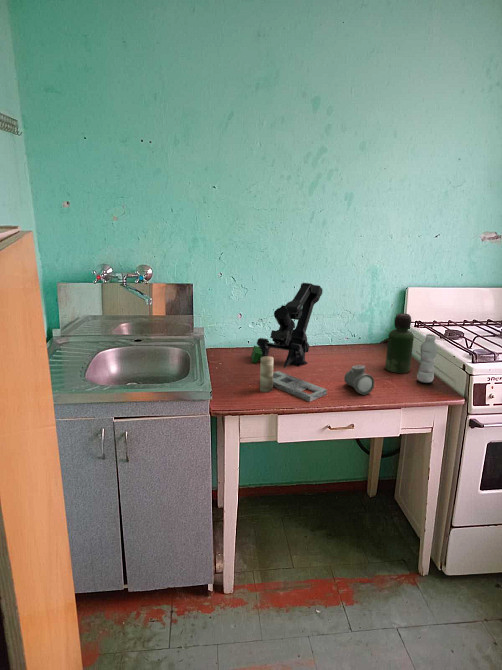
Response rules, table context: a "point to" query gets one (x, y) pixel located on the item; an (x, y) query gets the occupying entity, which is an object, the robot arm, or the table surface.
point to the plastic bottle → (427, 359)
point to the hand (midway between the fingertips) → (273, 365)
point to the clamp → (256, 354)
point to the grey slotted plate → (297, 386)
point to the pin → (266, 374)
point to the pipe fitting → (359, 379)
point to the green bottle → (400, 345)
